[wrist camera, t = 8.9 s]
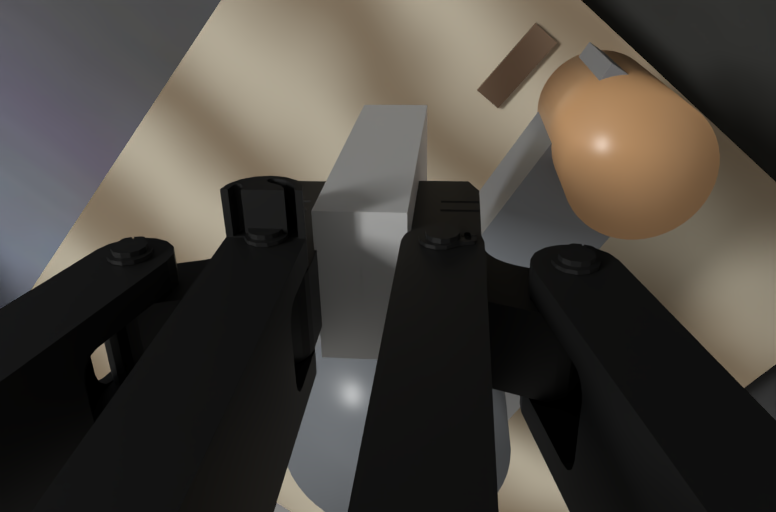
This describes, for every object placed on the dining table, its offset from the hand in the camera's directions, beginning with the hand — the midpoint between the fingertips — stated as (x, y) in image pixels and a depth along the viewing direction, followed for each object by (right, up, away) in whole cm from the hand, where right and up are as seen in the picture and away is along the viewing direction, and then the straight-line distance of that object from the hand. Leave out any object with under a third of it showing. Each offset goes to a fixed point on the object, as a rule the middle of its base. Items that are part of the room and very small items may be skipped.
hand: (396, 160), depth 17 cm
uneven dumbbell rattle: (+3, -2, +9) cm, 9 cm away
